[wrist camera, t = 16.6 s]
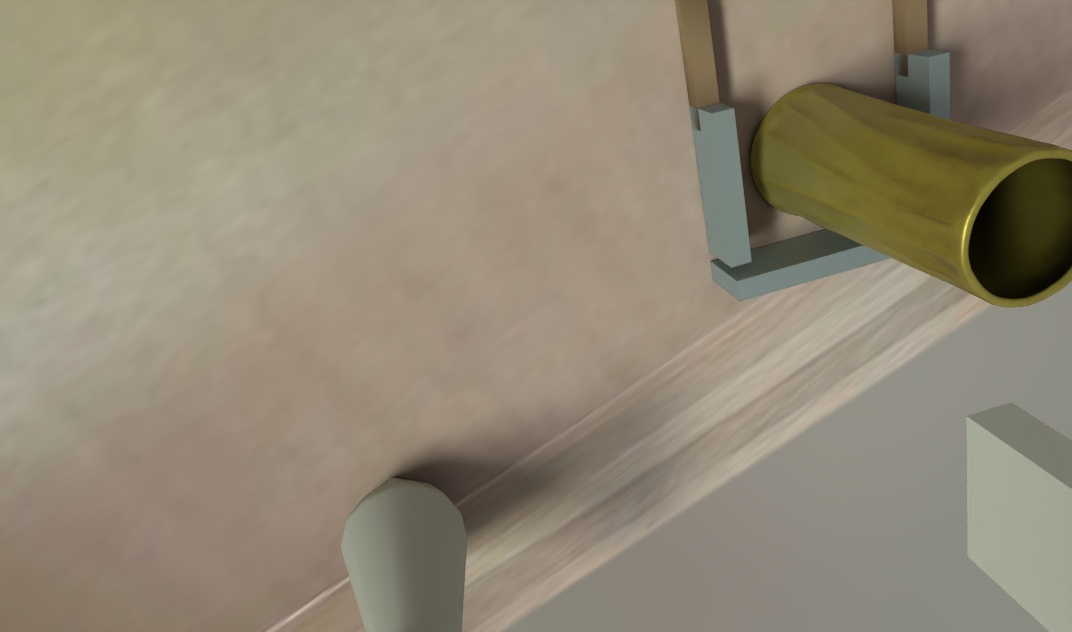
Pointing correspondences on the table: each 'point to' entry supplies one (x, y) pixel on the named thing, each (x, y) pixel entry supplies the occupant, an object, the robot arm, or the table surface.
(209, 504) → the table surface
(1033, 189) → the vase
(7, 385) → the table surface
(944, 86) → the socket
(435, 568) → the salt shaker
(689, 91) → the channel
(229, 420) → the table surface
